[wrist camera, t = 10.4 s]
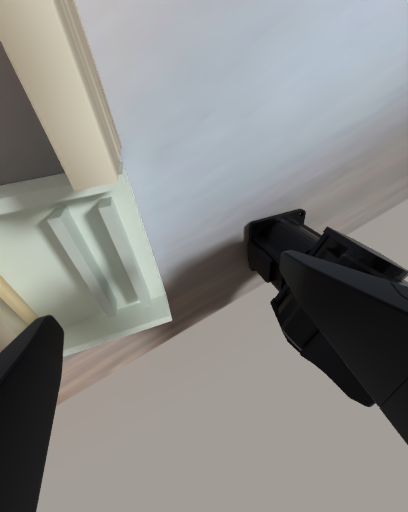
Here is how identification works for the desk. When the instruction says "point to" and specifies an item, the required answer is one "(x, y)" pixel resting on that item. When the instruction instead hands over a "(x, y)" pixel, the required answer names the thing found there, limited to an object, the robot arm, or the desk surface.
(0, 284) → the offcut bottom
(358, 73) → the desk surface
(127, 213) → the rack
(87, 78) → the birch sheet
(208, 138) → the desk surface
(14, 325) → the offcut top
